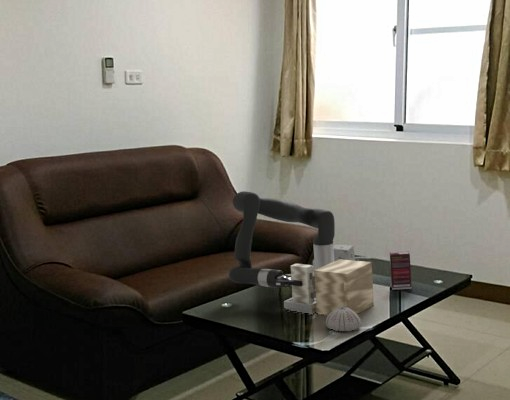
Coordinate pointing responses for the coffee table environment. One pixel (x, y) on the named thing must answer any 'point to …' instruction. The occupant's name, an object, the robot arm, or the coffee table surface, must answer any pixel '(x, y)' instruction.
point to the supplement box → (400, 270)
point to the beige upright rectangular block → (305, 275)
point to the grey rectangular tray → (300, 306)
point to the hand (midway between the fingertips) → (305, 282)
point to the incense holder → (344, 252)
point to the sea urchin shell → (343, 319)
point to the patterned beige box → (343, 286)
